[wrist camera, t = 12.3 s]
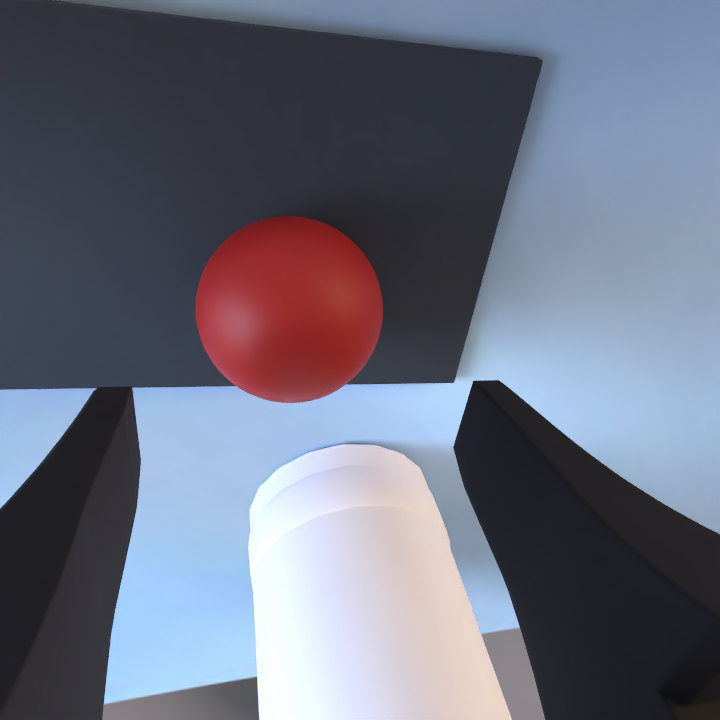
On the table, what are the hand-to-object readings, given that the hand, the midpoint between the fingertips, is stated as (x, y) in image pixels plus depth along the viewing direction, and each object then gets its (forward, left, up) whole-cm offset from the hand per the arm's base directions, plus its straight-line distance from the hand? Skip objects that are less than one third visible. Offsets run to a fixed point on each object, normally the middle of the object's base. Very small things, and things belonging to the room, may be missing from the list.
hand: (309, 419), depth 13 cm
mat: (-1, +1, -7) cm, 7 cm away
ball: (0, 0, -7) cm, 7 cm away
